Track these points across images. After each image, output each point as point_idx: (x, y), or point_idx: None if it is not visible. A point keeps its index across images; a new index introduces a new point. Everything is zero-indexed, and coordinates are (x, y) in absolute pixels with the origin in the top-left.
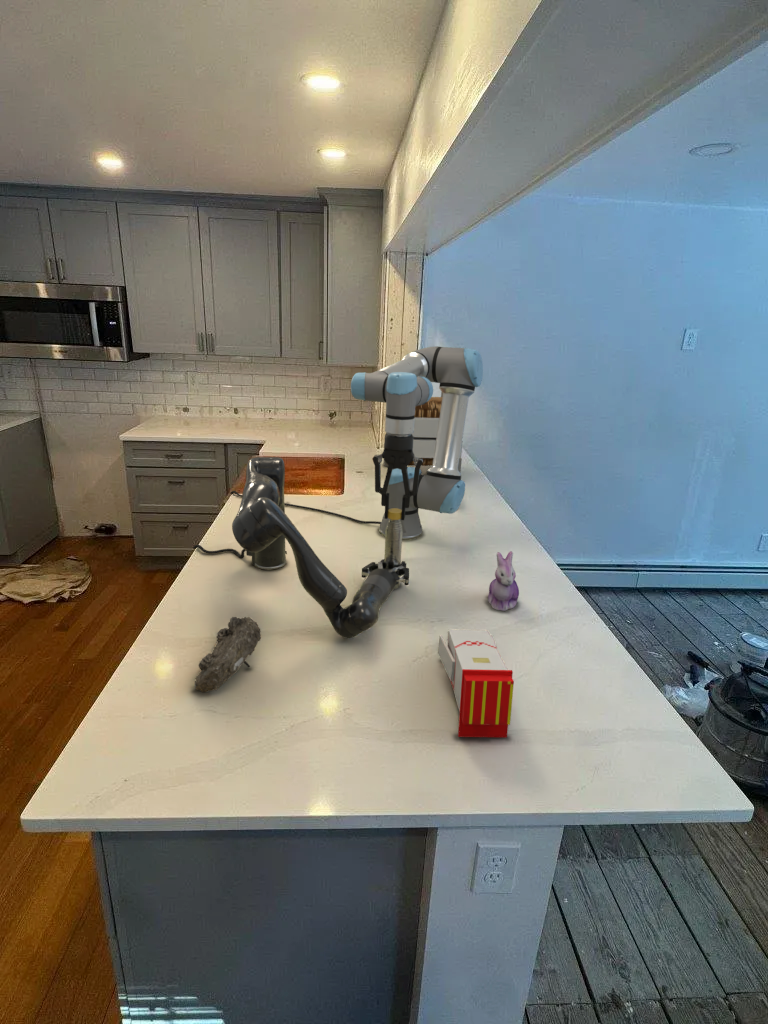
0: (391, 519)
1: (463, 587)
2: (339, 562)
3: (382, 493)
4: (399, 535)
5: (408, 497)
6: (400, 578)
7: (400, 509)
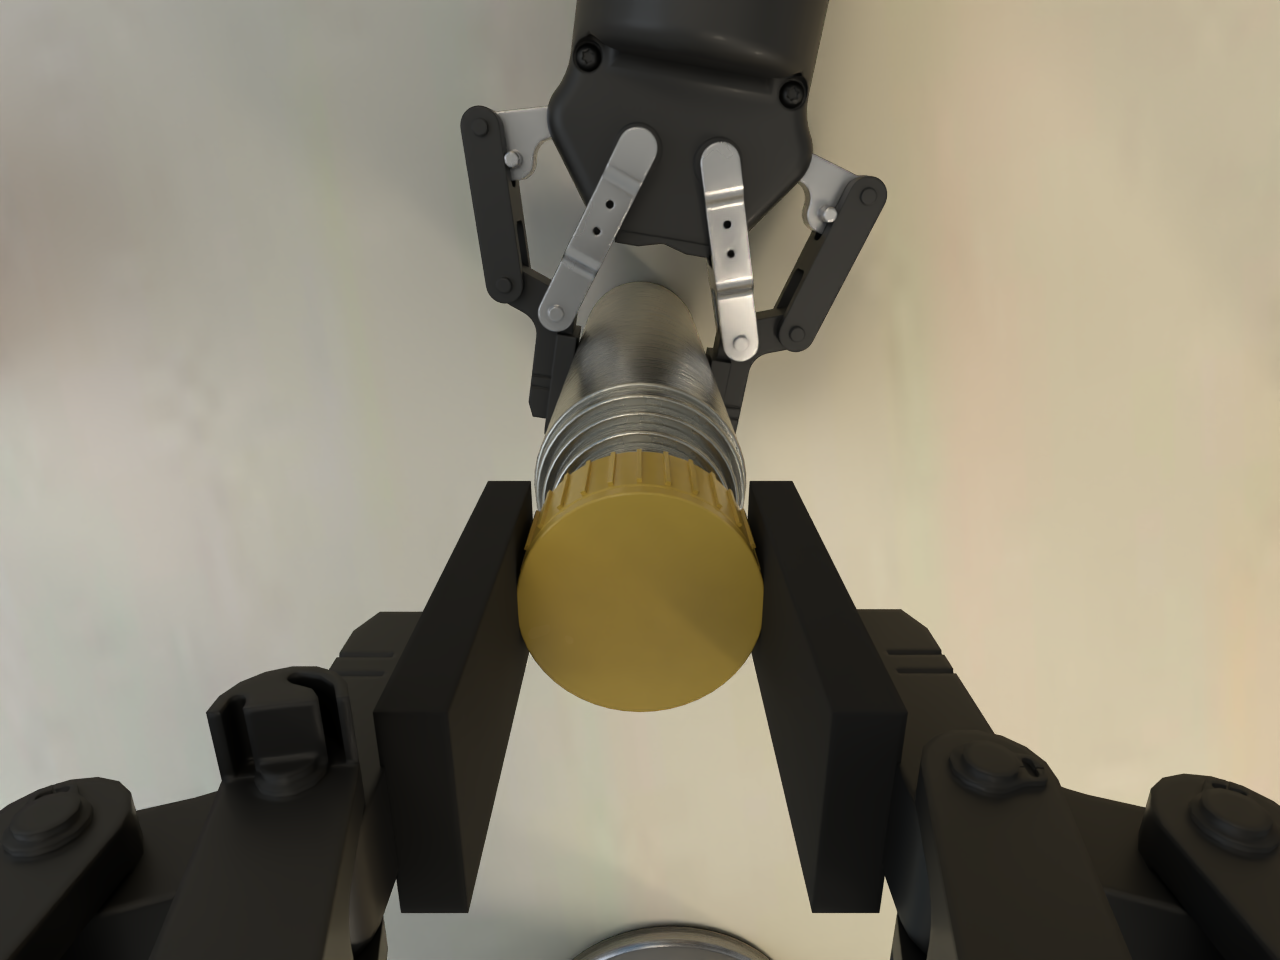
0: None
1: (172, 413)
2: (1008, 585)
3: (1021, 758)
4: (565, 403)
5: (258, 680)
6: (538, 124)
7: (559, 678)
